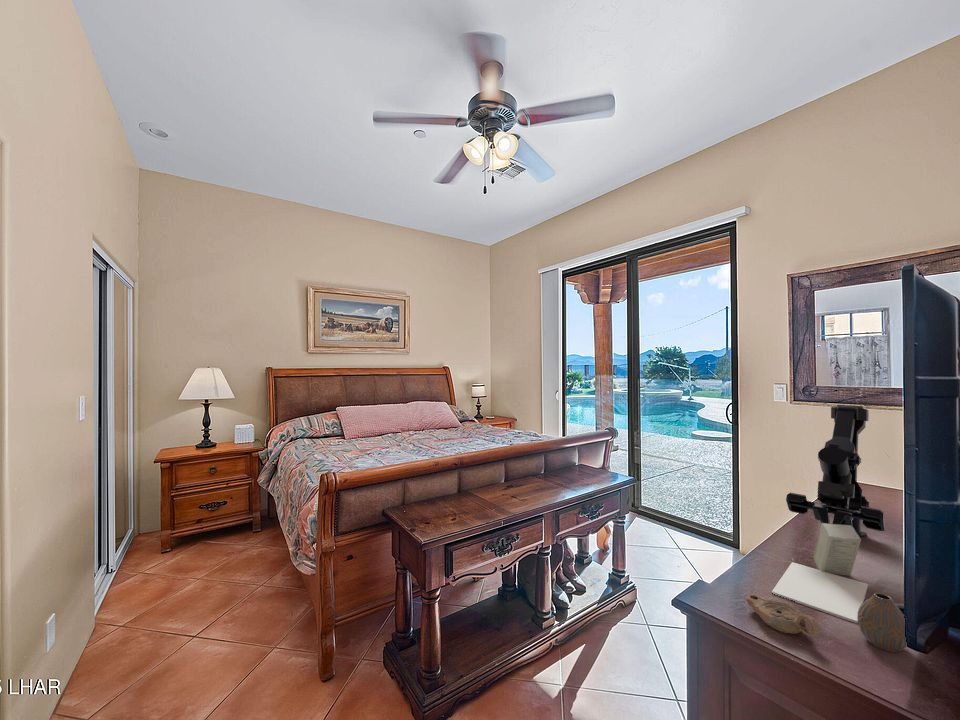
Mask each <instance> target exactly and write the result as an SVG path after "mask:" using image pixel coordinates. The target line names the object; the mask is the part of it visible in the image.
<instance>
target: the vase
mask: <svg viewBox="0 0 960 720" xmlns="http://www.w3.org/2000/svg"><path fill="white" fill-rule="evenodd" d="M895 603H896V602H895V601H894V599H893V598H892V597H891V596H890V595H887V594H885V593H881V592H874V593H873V594H872V595H871V597H869V598H868V599H866V600H864V602H863V603H862V604H861V605H860V607H859V609H858V613H857V620H858V624H857V625H858V627H859V629H860V630H859V631H860V632H861V634H862V635H863V636H864V638H865V639H866V640H867V641H868V642H869V643H871V644H872V645H873V646H875V647H877V648H879V649H880V650H884V651H887V652H890V653H891V652H892V653H896V652H897V653H898V652H901V651H903V650H905V649H906V648H907V647H908V646H907V642H906V637H905V618H904V616H905V614H904V613H903V612H902V611H901V609H900V608H899V607H898V606H897V604H895Z"/></svg>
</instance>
